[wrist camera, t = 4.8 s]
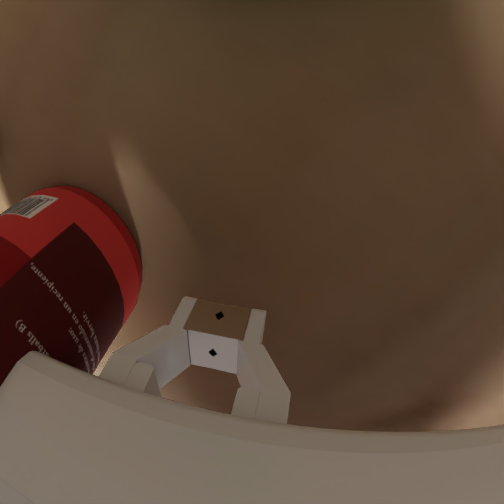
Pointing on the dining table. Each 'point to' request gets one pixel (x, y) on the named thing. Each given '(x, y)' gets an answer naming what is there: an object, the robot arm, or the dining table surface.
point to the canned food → (64, 278)
